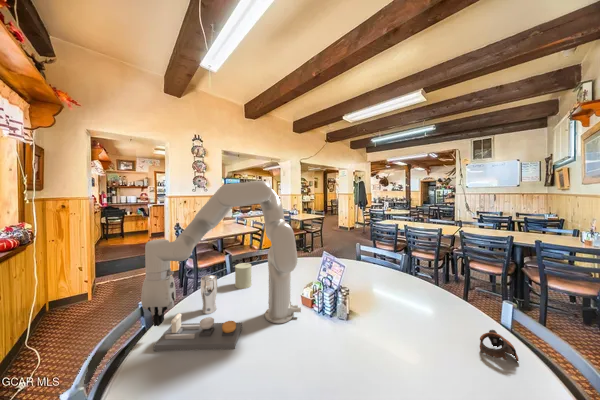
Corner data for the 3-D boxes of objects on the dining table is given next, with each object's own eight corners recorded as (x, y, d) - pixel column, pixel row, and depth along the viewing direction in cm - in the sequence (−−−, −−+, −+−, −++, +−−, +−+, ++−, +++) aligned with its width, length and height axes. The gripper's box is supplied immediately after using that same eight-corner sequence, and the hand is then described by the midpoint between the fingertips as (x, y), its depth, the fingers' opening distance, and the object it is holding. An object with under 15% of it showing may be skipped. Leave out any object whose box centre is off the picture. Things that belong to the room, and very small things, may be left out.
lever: (184, 328, 84) (184, 312, 84) (177, 337, 79) (176, 320, 78) (176, 328, 84) (175, 312, 83) (168, 337, 78) (168, 320, 78)
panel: (242, 327, 88) (242, 319, 88) (234, 348, 76) (234, 339, 76) (172, 328, 87) (172, 320, 87) (154, 350, 75) (153, 341, 75)
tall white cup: (211, 315, 96) (211, 281, 96) (197, 313, 98) (197, 280, 97) (220, 307, 103) (220, 275, 102) (207, 305, 105) (206, 274, 104)
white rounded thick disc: (215, 323, 84) (215, 317, 84) (211, 331, 79) (211, 324, 79) (203, 324, 84) (202, 317, 84) (197, 332, 79) (197, 325, 79)
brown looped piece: (528, 373, 68) (516, 351, 67) (491, 374, 72) (480, 354, 72) (509, 340, 78) (499, 320, 78) (479, 343, 83) (469, 324, 82)
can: (255, 284, 128) (255, 264, 128) (243, 290, 121) (242, 268, 120) (243, 280, 133) (243, 261, 133) (231, 286, 125) (231, 265, 125)
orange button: (237, 327, 85) (237, 320, 84) (234, 335, 80) (234, 328, 80) (224, 327, 84) (224, 320, 84) (220, 335, 80) (220, 328, 79)
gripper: (184, 270, 84) (184, 317, 85) (143, 270, 83) (144, 318, 84) (174, 278, 76) (174, 330, 77) (129, 278, 76) (130, 330, 76)
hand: (158, 323), depth 81 cm, fingers closed
